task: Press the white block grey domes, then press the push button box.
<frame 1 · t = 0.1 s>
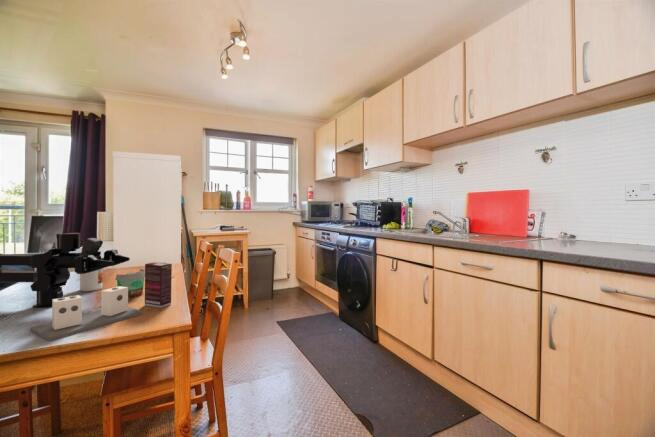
hand: (121, 261, 107), 17 cm above the table, tool horizontal, fingers open, 9 cm apart
food container: (134, 296, 118), on the table
push button box 1: (115, 300, 95), point 5 cm above the table, slide at 0.0 cm
milk bottle: (91, 289, 126), on the table
supplement box: (157, 305, 107), on the table
white block grey domes 2: (67, 311, 84), point 5 cm above the table, slide at 0.0 cm
key mat: (90, 321, 90), on the table
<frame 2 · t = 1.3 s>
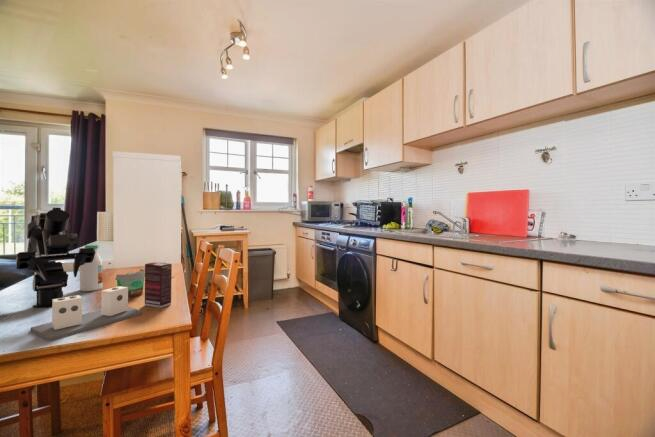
hand: (61, 278, 91), 14 cm above the table, tool tilted 45°, fingers open, 7 cm apart
nothing on the table moved.
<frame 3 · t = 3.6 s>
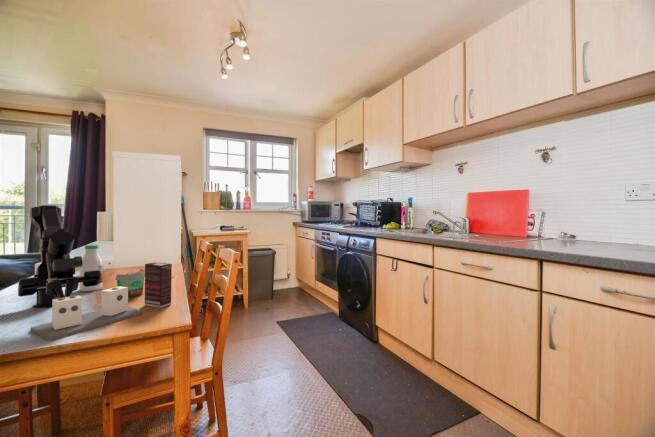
hand: (65, 305, 85), 7 cm above the table, tool tilted 45°, fingers closed, pressing on white block grey domes 2
white block grey domes 2: (67, 311, 84), point 5 cm above the table, slide at 0.0 cm, touching gripper
everything else where it was.
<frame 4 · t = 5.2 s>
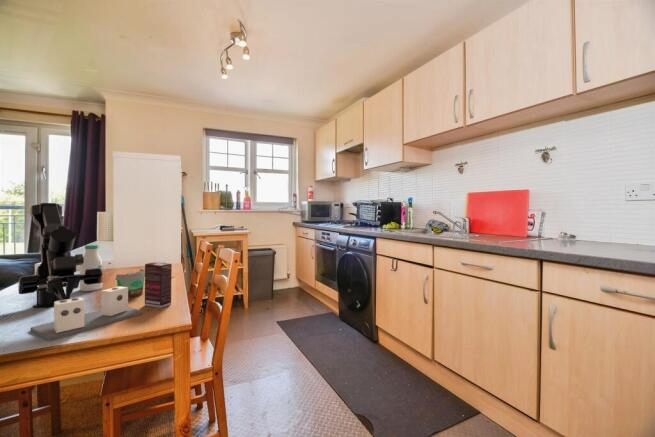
hand: (66, 303, 85), 8 cm above the table, tool tilted 45°, fingers closed
white block grey domes 2: (69, 314, 82), point 5 cm above the table, slide at 3.1 cm
everything else where it was.
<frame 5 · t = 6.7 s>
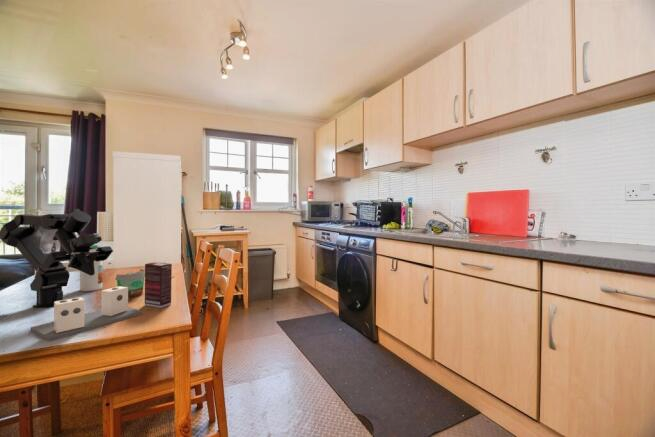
hand: (92, 274, 98), 13 cm above the table, tool tilted 45°, fingers closed
nothing on the table moved.
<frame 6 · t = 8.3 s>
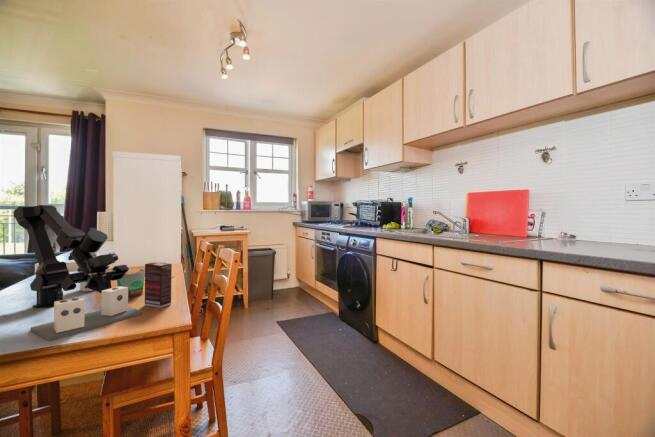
hand: (110, 295, 96), 7 cm above the table, tool tilted 45°, fingers closed, pressing on push button box 1
push button box 1: (115, 300, 95), point 5 cm above the table, slide at 0.0 cm, touching gripper
everything else where it was.
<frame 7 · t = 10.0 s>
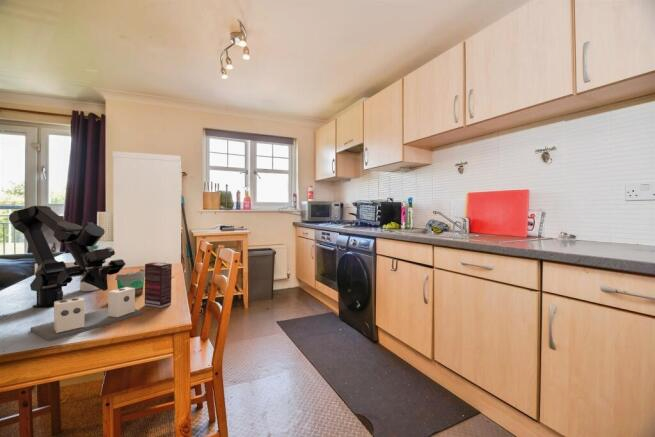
hand: (106, 289, 96), 9 cm above the table, tool tilted 45°, fingers closed
push button box 1: (122, 301, 94), point 5 cm above the table, slide at 3.1 cm
everything else where it was.
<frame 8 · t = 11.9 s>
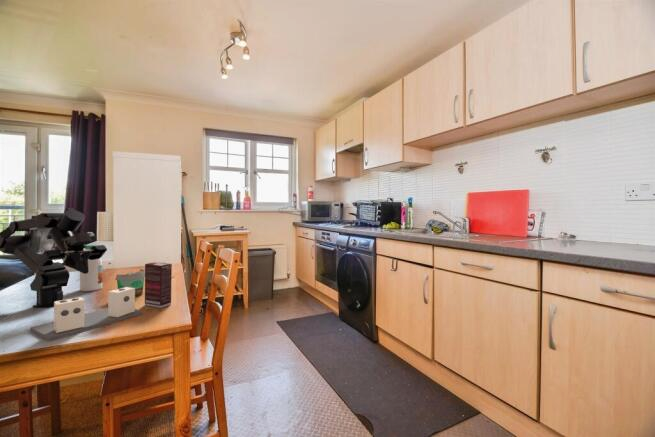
hand: (86, 272, 99), 14 cm above the table, tool tilted 45°, fingers closed
nothing on the table moved.
at the end: white block grey domes 2 slide at 3.1 cm; push button box 1 slide at 3.1 cm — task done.
